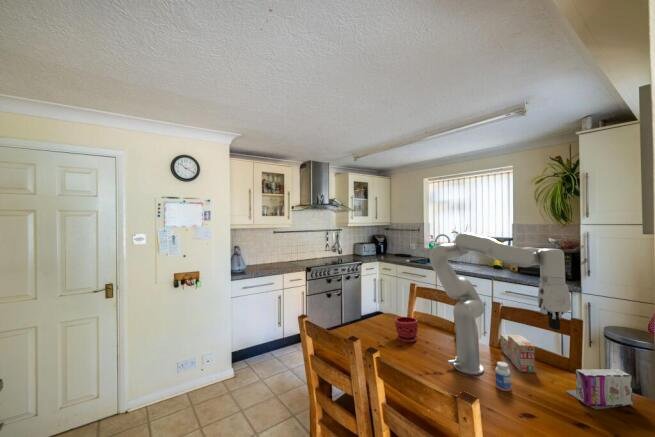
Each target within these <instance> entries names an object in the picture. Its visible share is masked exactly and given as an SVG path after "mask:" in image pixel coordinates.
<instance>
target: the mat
mask: <svg viewBox="0 0 655 437" xmlns="http://www.w3.org/2000/svg"><path fill="white" fill-rule="evenodd" d="M565 393H566V394H568V395H569V396H571V397H573V398H574V399H575V398H576V399H577V392H576V389H573V390H572V389H570V390H565ZM577 400H578V401H580V400H579V399H577ZM589 407H590V408H592V409H594V410H595V409H596V410H603V409H609V408H610V407H611V408H618V407H620V406H589ZM611 408H610V409H611Z"/></svg>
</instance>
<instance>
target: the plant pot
mask: <svg viewBox="0 0 655 437" xmlns="http://www.w3.org/2000/svg"><path fill="white" fill-rule="evenodd" d="M394 321H395V322H394V324H395V325H394V326H395V330H396V333H397V339H398V340H399V341H400V342H403V343H414V342H415V341H417V340H418V336H417V334H418V331H419V330H418V327H419V324H418V323H419V322H418V319H417V318H415V317H410V316H400V317H399V316H398V317H397V318H395V319H394Z"/></svg>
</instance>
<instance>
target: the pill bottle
mask: <svg viewBox="0 0 655 437" xmlns="http://www.w3.org/2000/svg"><path fill="white" fill-rule="evenodd" d="M494 370H495V371H494V372H495V374H494V375H495V386H496V388H497V389H498V390H501V391H504V392H509V391H511V390H512V378H511V376H512V375H511V371H510V369H509V364H508V363H507V362H504V361H497V362H496V367H495V368H494Z"/></svg>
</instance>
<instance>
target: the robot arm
mask: <svg viewBox="0 0 655 437" xmlns="http://www.w3.org/2000/svg"><path fill="white" fill-rule="evenodd" d="M469 253H473V254H478V255H481V256H484V257H488V258H491V259H493V260H496V261H498V262H501V263H503V264H507V265H508V264H509V265H512V266H516V267H521V268H529V267H532V266H539V273H540V274H539V276H540V277H539V279H538V281H539V282H540V283H539V285H538V292H537V304H538V309H539V311H540V312H539V313H540V314H543V315H546V317H547V318H548V327H549V328H550V329H553V330H556V331H557V330H559V331H560V330H561V319H562V317H563V315H564V314H566V313H567V314H568V312H569V311H571V310H572V302H571V300H572V299H571V295H570V289H569V286H568V284H566V265H565V252H564V251H563V250H562V249H559V248H539V247H531V246H526V247H517V246H513V245H509V244H505V243H502V242H499V241H498V239H496V238H494V237H488V236H484V235H480V234H477V233H476V232H472V231H465V232H460V233H458V234H457V235H456V236H455V238H454V241H452V242H449V243H448V242H447V243H441V244H437V245H435V246H434V247H433V248H432V250H431V252H430V254H429V262H430V266H431V267H432V269H433V270H434V272H435V274H436V276H437V278H438V280H439V282H440V284H441V286H442V288H443V290H444V292H445V294H446V295H447V296H448V297H449V298H450V299H453V300H457V299H458V300H459V301H458V302H457V303H456V304H455V305H454V306H453V308H452V309H453V310H452V312H453V319H454V324H455V338H456V340H455V342H456V356H454V359H448V360H447V362H446V363H447V364H448V365H449V366H450V365H453V367H454V369H456V370H457V371H459V372H461V373H463V374H467V375H472V376H473V375H481V374H483V373H484V368H485V367H483V365H482V364H481V362H480V347H479V346H480V345H479V341H480V340H479V330H478V325H477V321H476V320H477V319H479V317H481V316H482V315H483V314H484V312H485V305H484V303H483V301H482V299H481V297H480V296H479V294H478V292H477V290H476V288H475V286H474V285H473V283H472V282H471V281H470V280H469V279H467V277H466V278H465V277H463V276H462V277H461V276H459V277H458V275H457V273H456V271H455V269H454V268H453V266H452V265H451V264H450V263H449V261H450V260H451V261H452V260H456V259H458V258H460V257H462V256H464V255H466V254H469Z"/></svg>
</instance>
